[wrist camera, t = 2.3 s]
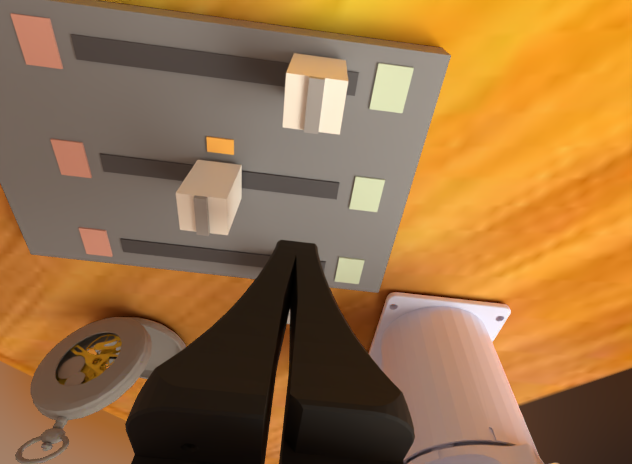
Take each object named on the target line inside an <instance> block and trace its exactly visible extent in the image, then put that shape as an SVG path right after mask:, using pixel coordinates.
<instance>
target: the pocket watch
mask: <svg viewBox="0 0 632 464" xmlns="http://www.w3.org/2000/svg"><path fill="white" fill-rule="evenodd" d="M93 347H94V348H93ZM184 348H186V345H185V343H184V342H183V341H182V339H181V338H180V337H179V336H178V335H177V334H176V333H175V332H173V331H172V330H170V329H169V328H167V327H166V326H164V325H162V324H160V323H157V322H154V321H151V320H148V319H143V318H138V317H111V318H106V319H102V320H99V321H96V322H93V323H90V324H88V325H86V326H84V327H82V328H80V329H78V330H76V331H75V332H73V333H72V334H70V335H69V336H67V337H66V338H65V339H63V340H62V341H61V342H60V343H58V344H57V345H56V346H55V347H54V348H53V349H52V350H51V351H50V352H49V353H48V354H47V355H46V357H45V358H44V359H43V360H42V362H41V363H40V365H39V366H38V368H37V370H36V371H35V374H34V376H33V379H32V382H31V395H32V398H33V403H34V404H35V406H36V407H37V409H38V410H39V411H40V412H41V413H42V414H43V415H45V416H47V417H49V418H51V419H54V420H56V423H55V424H54V426H53V428H52V429H48V430H46V431H45V432H43V434H41V436H39V437H36V438H34V439H32V440H30V441H28V442H26V443H25V444H24V445H22V446H21V447H20V448H19V449H18V451H17V453H16V455H15V456H16V460H17V461H18V462H20V463H22V464H37V463H43V462H45V461H48V460H50V459H52V458H55V457H56V456H58V455H59V454H61V453H62V452H63V451H64V450H65V449H66V448H67V446H68V445H69V439H68V438H67V437H66V436H65V432H64V431H63V430H62V429H63V427H64V425H65V424H66V423H67V421H68V420H72V419H77V418H83V417H84V416H87V415H90V414H92V413H95V412H97V411H99V410H101V409H103V408H104V407H106V406H107V405H109V404H111V403H112V402H114V401H116V400H117V399H118V398H119V397H120V396H121V395H123V394H124V393H125V392H126V391H127V390H128V389H129V388H130V387H131V386H132V385H133V384H134V383H135V382H136V380H137V379H138V378H139V377H140V378H145V379H148V378H149V376H150V375H151V373H152V372H153V370H154V369H155V368H156V367H157V366H159V365H161V364H162V363H164V362H165V361H167V360H168V359H170V358H171V357H173V356H174V355H176V354H177V353H179V352H180V351H181V350H183V349H184ZM89 349H94V350H95V351H96V352H97V355H94V354H91V353H89V352H87V351H88V350H89ZM92 362H93V363H92ZM105 364H108V366H110V367H109V368H107V369H106V367H107V366H106V365H105ZM40 440H42V442H44V443H43V444H42V446H41V447H42V448H43V450H44V451H47V450H50V449H52V444H54V443H57V442H60V441H63V446H62V447H61V448H60V449H59V450H58V451H56V452H54V453H53V454H50V455H48V456H46V457H44V458H40V459H32V460H29V459H24V458H23V457H22V452H23V451H24V449H25V448H27V447H28V446H30V445H31V444H33V443H35V442H37V441H40Z"/></svg>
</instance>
